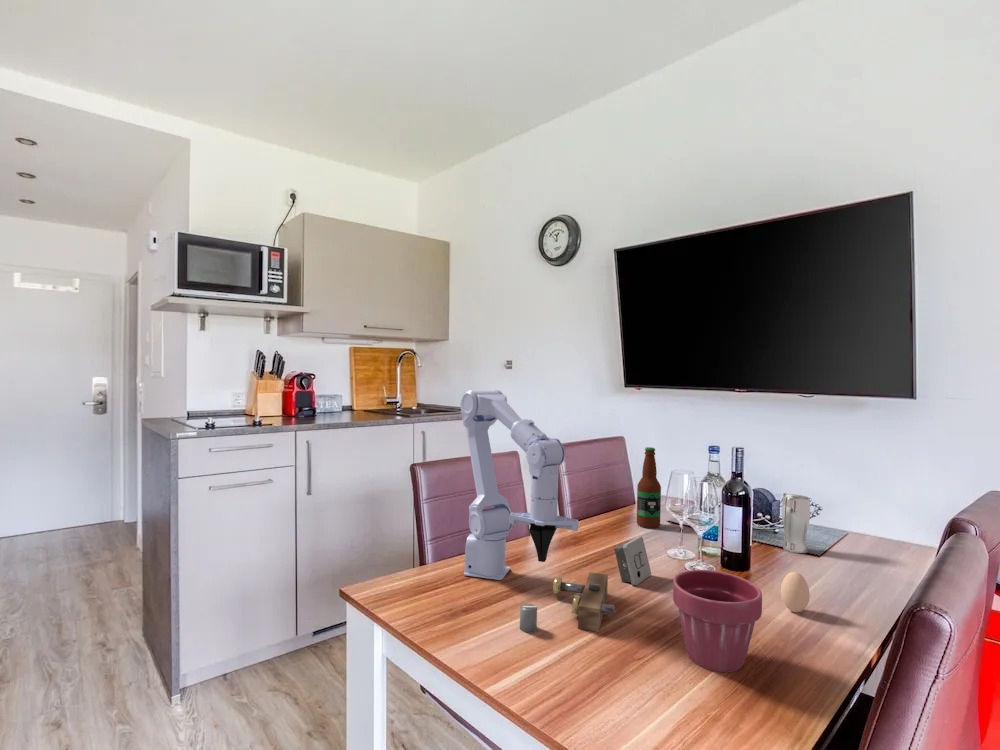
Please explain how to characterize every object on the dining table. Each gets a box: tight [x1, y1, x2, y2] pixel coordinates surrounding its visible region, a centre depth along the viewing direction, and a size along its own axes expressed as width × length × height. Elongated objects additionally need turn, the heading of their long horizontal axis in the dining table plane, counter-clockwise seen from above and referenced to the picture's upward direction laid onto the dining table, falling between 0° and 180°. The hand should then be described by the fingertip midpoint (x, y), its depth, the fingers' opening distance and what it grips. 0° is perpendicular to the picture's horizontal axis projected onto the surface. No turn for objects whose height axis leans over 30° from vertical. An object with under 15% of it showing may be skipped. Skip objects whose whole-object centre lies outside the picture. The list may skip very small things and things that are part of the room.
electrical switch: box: [613, 536, 652, 587], centre depth 127 cm, size 9×5×9 cm, turn 141°
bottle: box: [636, 447, 662, 530], centre depth 171 cm, size 7×7×25 cm
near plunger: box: [571, 594, 616, 616], centre depth 106 cm, size 8×3×3 cm, turn 74°
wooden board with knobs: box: [577, 571, 609, 633], centre depth 110 cm, size 4×18×5 cm, turn 164°
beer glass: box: [781, 493, 811, 554], centre depth 150 cm, size 7×7×15 cm
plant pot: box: [672, 569, 763, 673], centre depth 92 cm, size 14×14×13 cm
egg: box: [780, 571, 811, 613], centre depth 111 cm, size 5×5×8 cm
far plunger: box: [552, 576, 585, 596], centre depth 115 cm, size 8×3×3 cm, turn 74°
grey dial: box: [519, 603, 538, 634], centre depth 101 cm, size 3×3×4 cm
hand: (542, 560), depth 113 cm, fingers closed
